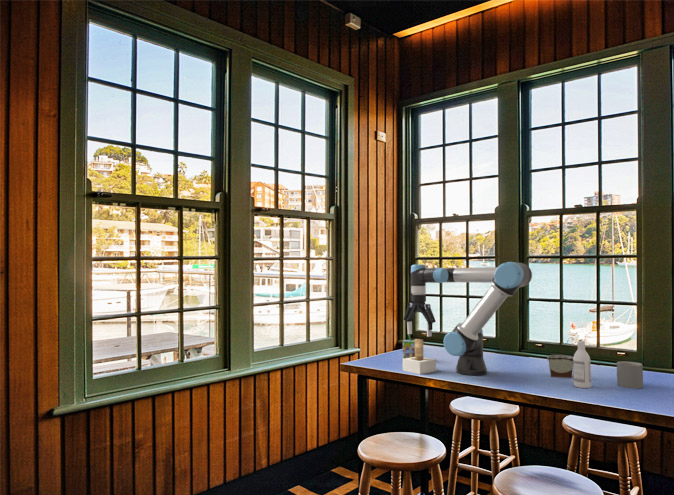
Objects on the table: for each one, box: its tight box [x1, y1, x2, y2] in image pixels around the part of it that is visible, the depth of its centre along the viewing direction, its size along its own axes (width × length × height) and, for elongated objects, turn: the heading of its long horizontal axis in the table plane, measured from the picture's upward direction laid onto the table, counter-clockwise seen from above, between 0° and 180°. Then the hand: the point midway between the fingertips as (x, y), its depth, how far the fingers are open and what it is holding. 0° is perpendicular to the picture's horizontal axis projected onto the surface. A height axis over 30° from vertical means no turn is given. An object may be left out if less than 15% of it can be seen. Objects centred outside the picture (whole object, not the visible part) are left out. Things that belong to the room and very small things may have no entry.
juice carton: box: [401, 334, 415, 360], centre depth 279 cm, size 9×9×15 cm
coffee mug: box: [616, 360, 644, 390], centre depth 217 cm, size 13×10×10 cm
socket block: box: [402, 356, 437, 375], centre depth 249 cm, size 12×12×6 cm
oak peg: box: [414, 338, 424, 361], centre depth 250 cm, size 4×4×16 cm
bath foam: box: [572, 340, 592, 389], centre depth 215 cm, size 7×7×20 cm
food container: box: [547, 354, 574, 379], centre depth 236 cm, size 12×6×10 cm, turn 74°
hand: (419, 335), depth 250 cm, fingers open, 13 cm apart
